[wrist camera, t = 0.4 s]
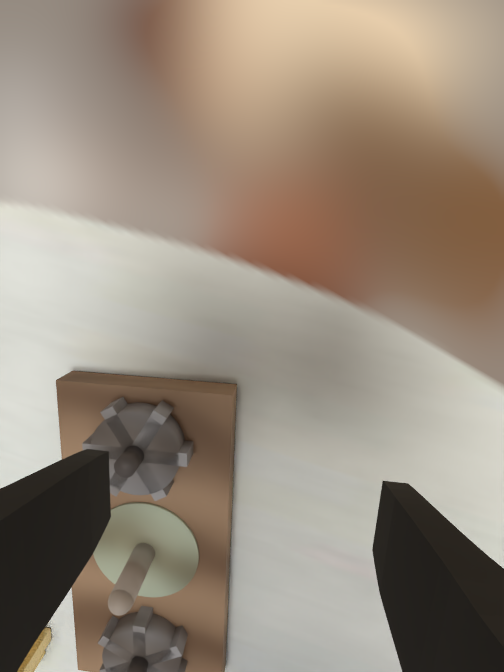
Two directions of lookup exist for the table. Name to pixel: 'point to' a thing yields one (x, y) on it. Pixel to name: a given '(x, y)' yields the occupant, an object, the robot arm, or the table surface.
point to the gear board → (154, 521)
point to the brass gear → (36, 652)
